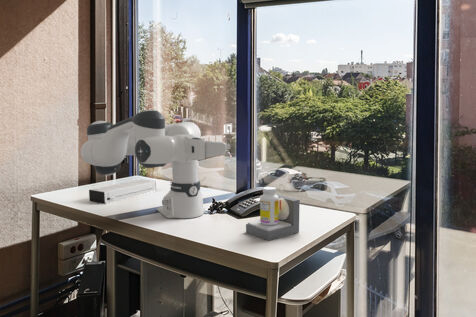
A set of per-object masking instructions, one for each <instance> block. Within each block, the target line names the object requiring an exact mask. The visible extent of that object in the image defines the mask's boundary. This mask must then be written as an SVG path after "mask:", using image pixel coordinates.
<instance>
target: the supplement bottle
mask: <svg viewBox="0 0 476 317" xmlns="http://www.w3.org/2000/svg"><path fill="white" fill-rule="evenodd" d="M262 192H263V194H261V195H260V197H259V202H260V203H259V216H260V217H259V218H260V219H259V220H260V222H261V223H262V224H263V225H276V224H278V223H279V197H278V196H277V195H278V194H277V195H276V192H277V188H276V187H274V186H273V187H272V186H265V187H262Z"/></svg>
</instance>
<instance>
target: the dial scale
mask: <svg viewBox="0 0 476 317" xmlns="http://www.w3.org/2000/svg"><path fill="white" fill-rule="evenodd" d="M275 194H276V193H275ZM276 195H277V196H278V197H279V223H278V224H276V225H263V224H262V223H261V222H260V219H258V220H253V221H250V222H249V221H248V222H247V223H246V224H245V232H246V233H247V234H250V235H252V236H256V237H258V238H260V239H264V240H266V241H272V240H276V239H279V238H283V237H287V236H291V235H293V234H297V233H299V232H300V204H301V203H300V199H299V198H293V197H289V196H285V195H281V194H276Z"/></svg>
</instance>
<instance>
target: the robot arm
mask: <svg viewBox="0 0 476 317" xmlns="http://www.w3.org/2000/svg"><path fill="white" fill-rule="evenodd" d="M201 133H202V132H201V129H200V127H199V126H198V125H197V124H196V123H195V122H192V121H185V122H184V121H183V122H176V123H169V124H166V118H165V116H164V115H162V113H161V112H160V111H158V110H155V109H147V110H142V111H140V112H138V113H135V114H134V115H133V116H131V117H128V118H125V119H124V120H121V121H118V122H117V123H114V124H113V123H111V122H109V121H105V120H97V121H94V122H92V123H91V124H89V125H88V126H87V127H86V136H87V141H85V142H84V143H83V144H82V146H81V147H80V156H81V159H82V160H83V161H84V162H85V163H86V164H88V165H92V166H93V167H94V171H95V172H96V173H97V174H99V176H100V175H102V176H112V175H114V174H116V173H117V172H119V171H120V170H121V168H122V162H123V160H124V159H125V158H126V156H135V157H136V159H137V160H136V161H137V163H139V165H141V166H142V167H144V169H145V168H146V169H152V168H153V169H154V168H161V167H165V166H166V165H167V164H169V163H171V168H172V169H171V170H172V172H171V173H172V181H170V182H169V183H170V184H169V185H170V190H169V191H168V192H167V193H166V195H164V196H163V199H162V201H161V204H162V206H160V207H158V208H157V212H158V213H160V214H161V215H162V216H164V217H165V218H167V219H192V218H198V217H201V216H203V215H204V213H205V212H206V211H207V210H206V208H205V207H204V201H203V200H204V199H203V192H201V181H200V164H199V161H204V160H206V158H214V157H217V156H218V157H219V156H222V155H226V153H227V150H231V144H230V143H226V142H222V141H213V140H211V141H210V140H205V139H204V138H201V137H202V134H201Z"/></svg>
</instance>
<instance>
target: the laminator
mask: <svg viewBox="0 0 476 317" xmlns="http://www.w3.org/2000/svg"><path fill="white" fill-rule="evenodd" d="M154 190H156V191H157V182H156V180H150V179H149V180H148V179H143V178H142V179H136V180H131V181H126V182H122V183H116V184H112V185H106V186H101V187H97V188H96V187H95V188H91V189H89V190H88V198H89V201H90V202H93V203H100V204H105V205H107V203H108V204H111V202H112V203H115V201H116V202H119V201H118V200H120V201H123V200H122V199H124V200H127V199H126V198H128V199H130V198H129V197H132V198H134V197H133V196H136V195H140V194H144V193H147V192H150V191H154Z"/></svg>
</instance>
